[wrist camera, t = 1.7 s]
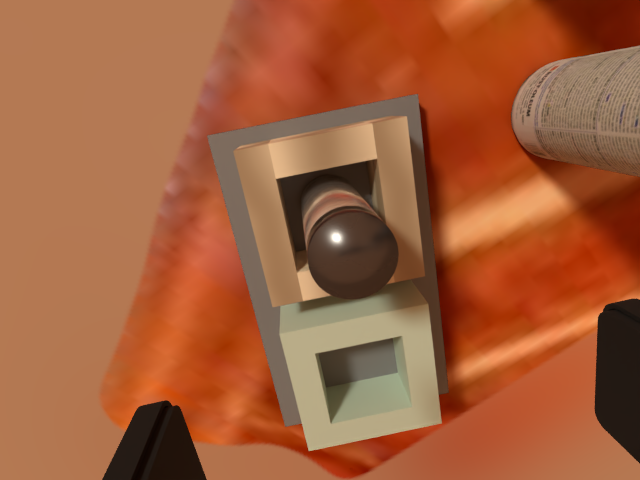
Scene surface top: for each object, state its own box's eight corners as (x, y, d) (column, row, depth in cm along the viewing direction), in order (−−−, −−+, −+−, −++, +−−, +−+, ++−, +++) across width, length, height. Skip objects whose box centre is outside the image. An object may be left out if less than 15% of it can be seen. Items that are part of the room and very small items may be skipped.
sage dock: (410, 279, 30) (428, 303, 26) (424, 387, 33) (441, 423, 29) (280, 306, 30) (279, 334, 26) (306, 412, 33) (308, 451, 29)
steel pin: (352, 169, 27) (392, 205, 17) (361, 224, 29) (403, 289, 18) (295, 181, 27) (299, 223, 17) (306, 235, 28) (317, 307, 18)
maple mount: (389, 115, 26) (406, 116, 23) (407, 255, 30) (425, 276, 26) (241, 145, 26) (233, 151, 22) (274, 282, 29) (272, 307, 26)
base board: (411, 95, 28) (417, 94, 26) (442, 381, 35) (448, 392, 34) (211, 134, 27) (207, 136, 26) (285, 413, 35) (285, 426, 33)
